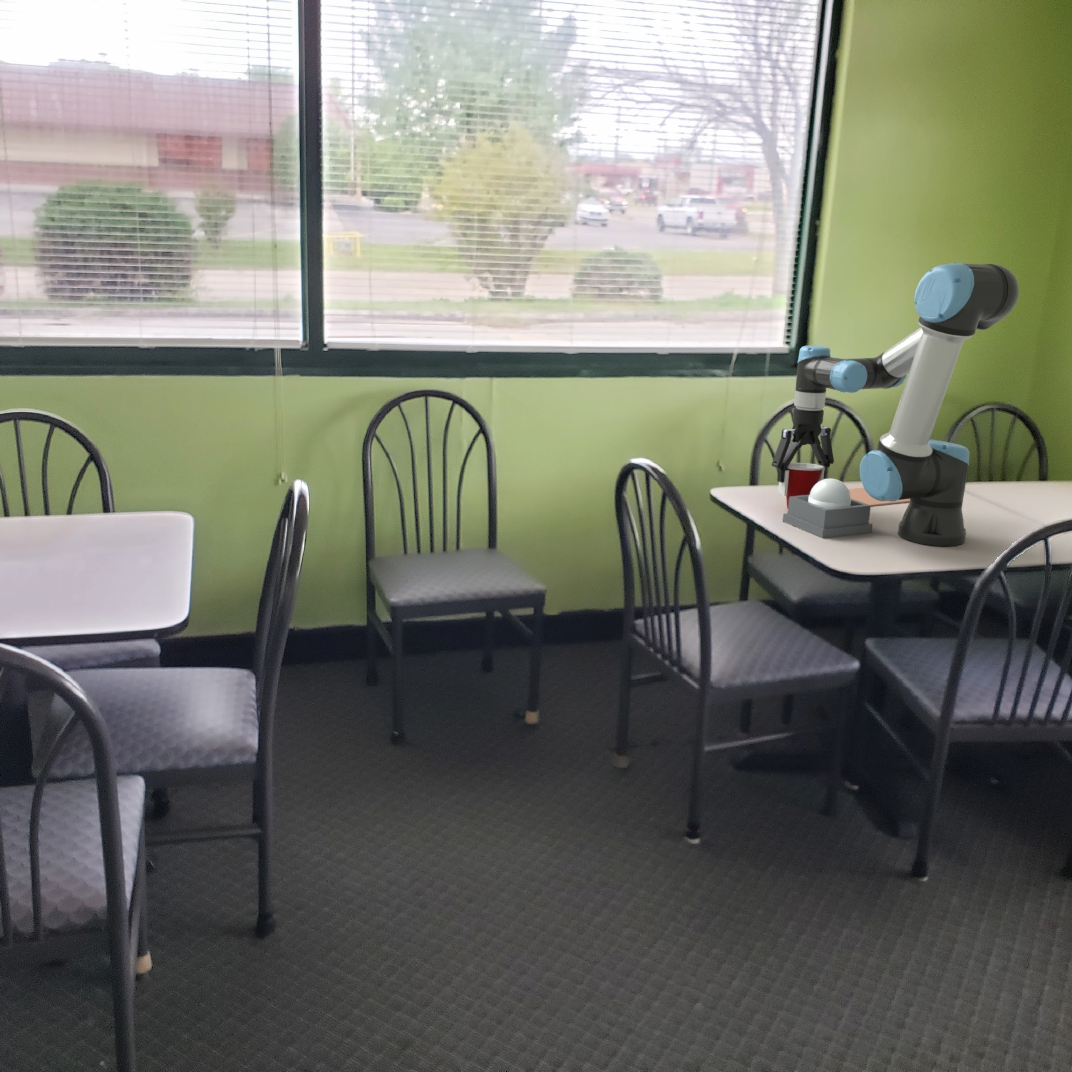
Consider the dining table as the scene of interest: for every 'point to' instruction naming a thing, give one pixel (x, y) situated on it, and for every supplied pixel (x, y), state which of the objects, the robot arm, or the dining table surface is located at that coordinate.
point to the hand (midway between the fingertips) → (800, 492)
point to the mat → (870, 498)
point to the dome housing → (828, 517)
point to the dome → (830, 494)
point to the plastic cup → (802, 478)
